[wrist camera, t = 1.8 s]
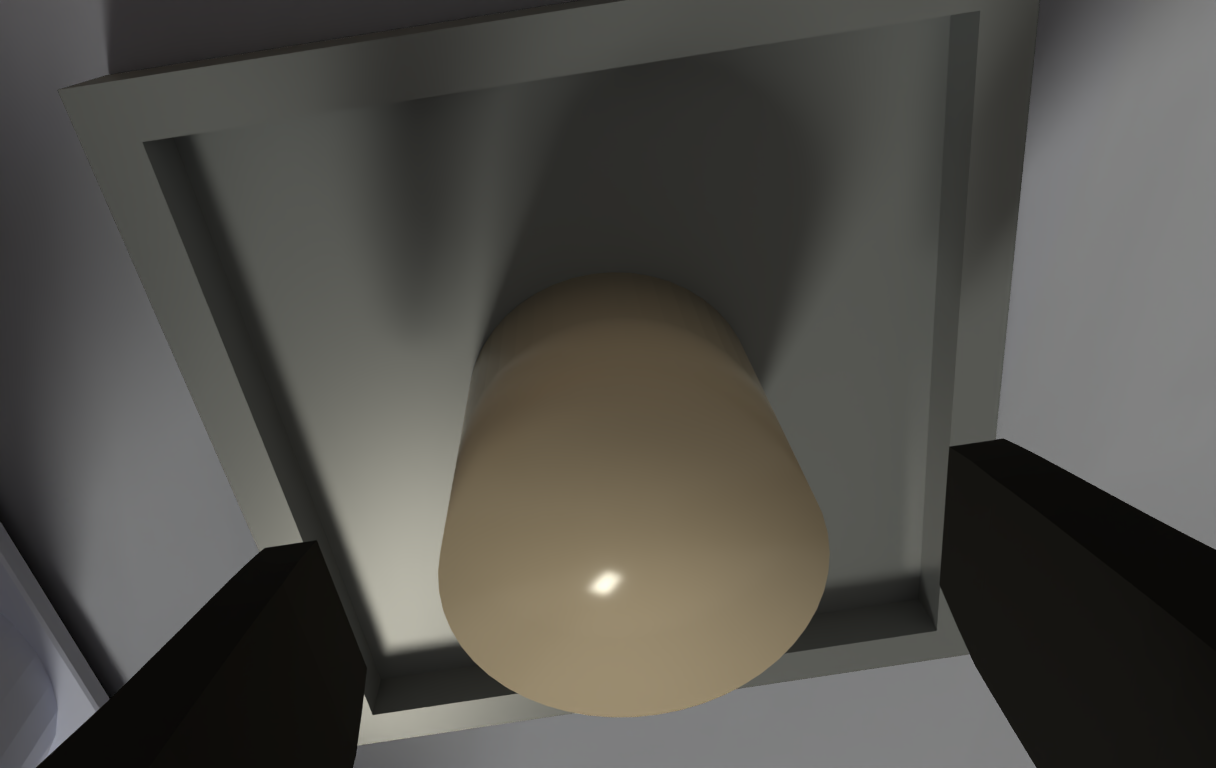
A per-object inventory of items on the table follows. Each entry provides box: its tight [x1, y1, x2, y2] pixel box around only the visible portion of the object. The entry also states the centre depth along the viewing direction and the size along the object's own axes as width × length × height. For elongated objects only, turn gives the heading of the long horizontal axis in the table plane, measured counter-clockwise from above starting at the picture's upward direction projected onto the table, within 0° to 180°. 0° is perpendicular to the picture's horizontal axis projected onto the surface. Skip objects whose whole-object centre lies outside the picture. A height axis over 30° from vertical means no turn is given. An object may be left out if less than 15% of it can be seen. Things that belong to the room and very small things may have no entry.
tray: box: [58, 0, 1040, 746], centre depth 13 cm, size 11×11×1 cm
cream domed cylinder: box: [438, 272, 830, 717], centre depth 11 cm, size 4×4×4 cm
